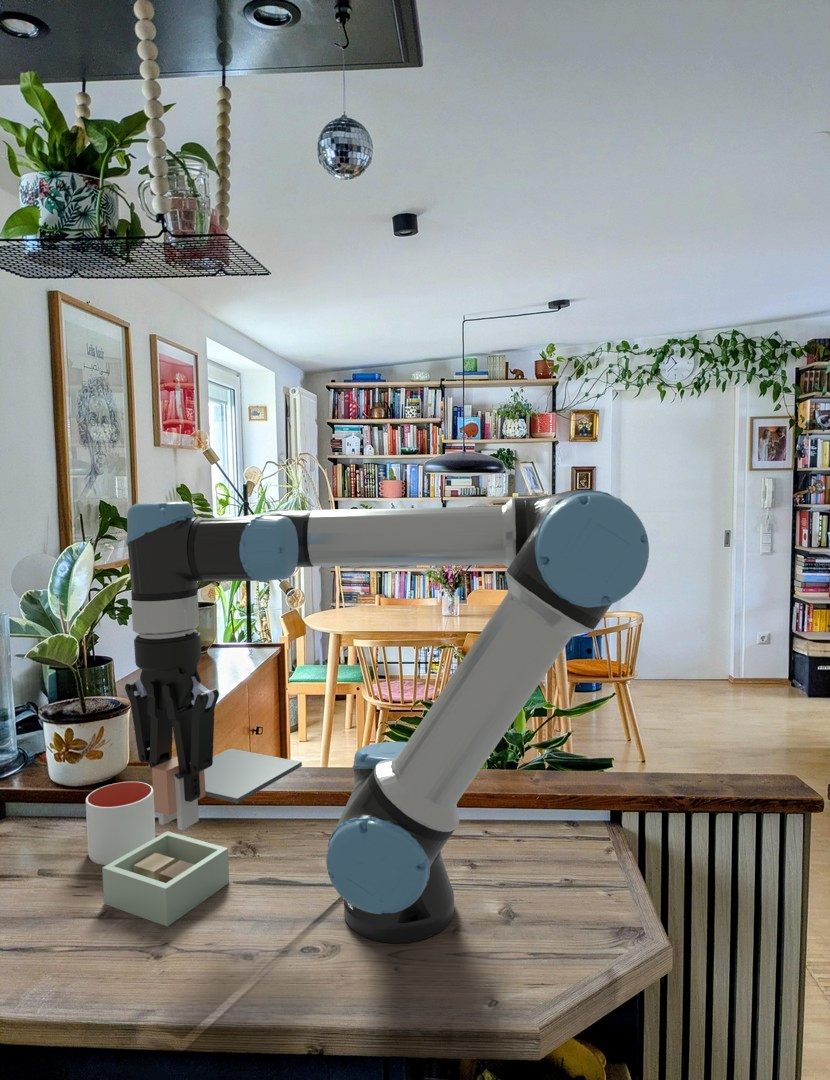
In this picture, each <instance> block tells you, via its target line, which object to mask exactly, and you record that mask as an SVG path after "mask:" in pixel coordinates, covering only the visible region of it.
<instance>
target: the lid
mask: <svg viewBox="0 0 830 1080" xmlns="http://www.w3.org/2000/svg"><path fill="white" fill-rule="evenodd" d="M174 757H175V758H172V759H170V760H168V761H166V762H164V763H161V764H159V765H157V766H155V767H153V768H152V769H151V776H152V780H151V781H152V788H153V795H154V813H157V814H158V813H161V814H165V815H171V814H173V813H175V812H177V809H176V793H175V777H174V776H175V774H176V773H178V772H179V765H178V758H177V756H174ZM190 763H191V762H190ZM301 767H303V763H302V761H298V760H293V759H289V758H288V759H287V758H282V757H278V756H271V755H267V754H261V753H256V752H251V751H245V750H240V749H237V748H236V749H235V748H228V749H226V750H223V751H222V752H220V753H218V754H215V755H213V764H212V766H211V767H209V768H207V769H205V770H203V771H201V772H200V773H199V779H200V797H199V798H198V801H199V800H201V799H202V798H204V797H209V798H214V799H218V800H222V801H226V802H231V803H236V804H239V803H241V802H243V801H245V800H246V799H247V798H250V797H251V796H253V795H254V794H256V793H258V792H260V791H261V790H263V789H265V788H267V787H268V786H270V785H272V784H274V783H276V782H277V781H279V780H280V779H282V778H284V777H285V776H287V775H290V774H291V773H293V772H294V771H296V770H297V769H299V768H301Z"/></svg>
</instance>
